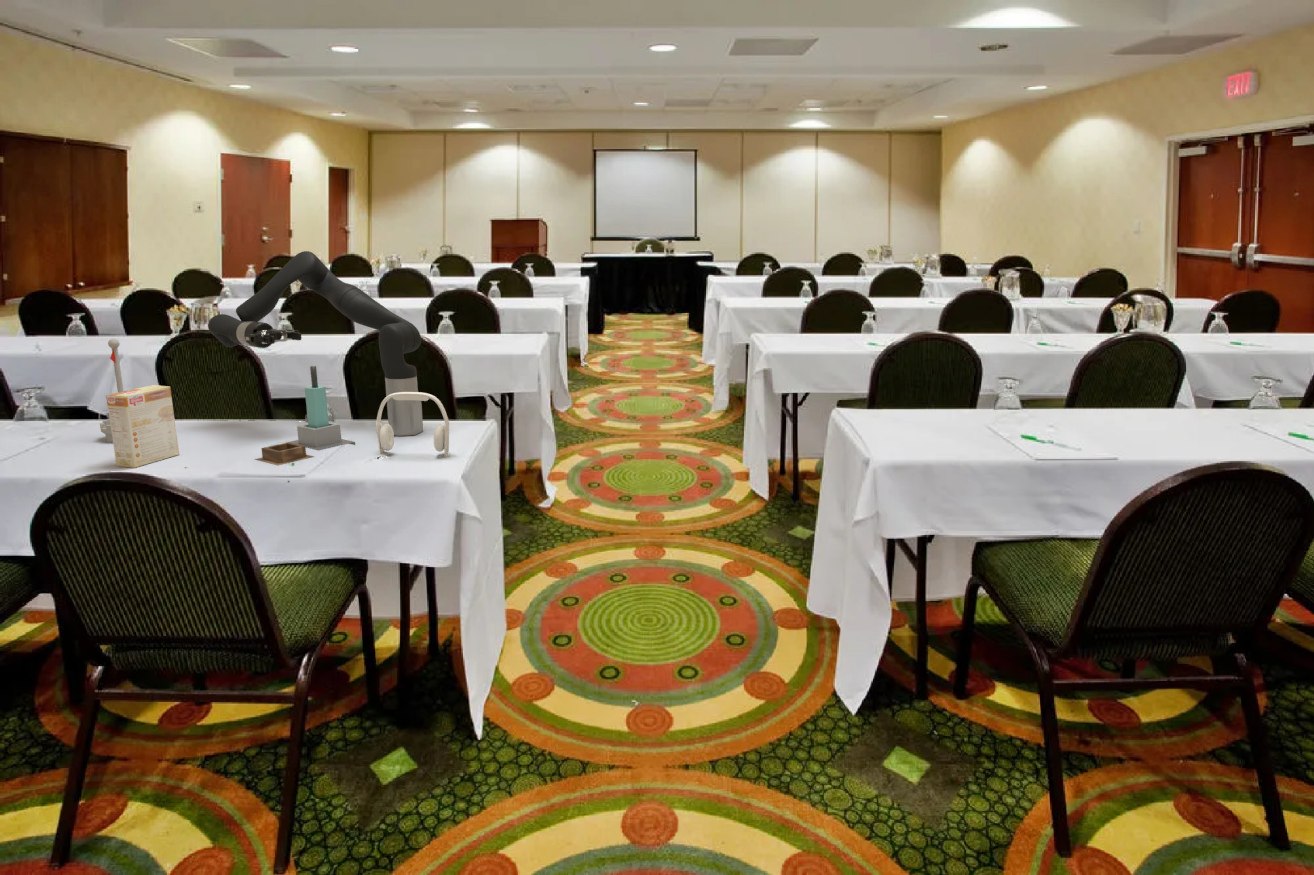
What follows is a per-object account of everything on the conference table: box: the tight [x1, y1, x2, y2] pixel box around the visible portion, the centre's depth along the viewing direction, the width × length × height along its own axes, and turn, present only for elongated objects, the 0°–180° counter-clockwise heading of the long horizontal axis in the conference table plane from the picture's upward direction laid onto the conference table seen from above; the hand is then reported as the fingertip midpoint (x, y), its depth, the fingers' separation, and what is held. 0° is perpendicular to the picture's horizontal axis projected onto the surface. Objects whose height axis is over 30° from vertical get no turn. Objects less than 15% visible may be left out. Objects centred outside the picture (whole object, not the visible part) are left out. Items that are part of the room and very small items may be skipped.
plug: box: [304, 365, 330, 429], centre depth 272 cm, size 4×4×22 cm
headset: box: [375, 391, 450, 459], centre depth 261 cm, size 20×7×18 cm, turn 86°
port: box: [285, 421, 356, 451], centre depth 275 cm, size 12×16×6 cm
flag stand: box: [99, 338, 124, 443], centre depth 283 cm, size 13×13×30 cm
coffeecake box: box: [105, 384, 180, 469], centre depth 258 cm, size 15×7×20 cm, turn 159°
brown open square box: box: [254, 441, 315, 466], centre depth 258 cm, size 11×11×4 cm
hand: (286, 338), depth 276 cm, fingers open, 8 cm apart
